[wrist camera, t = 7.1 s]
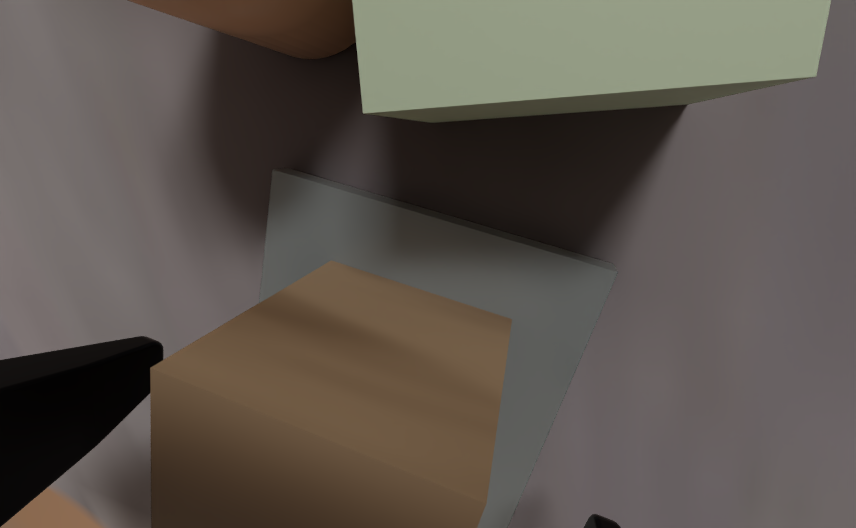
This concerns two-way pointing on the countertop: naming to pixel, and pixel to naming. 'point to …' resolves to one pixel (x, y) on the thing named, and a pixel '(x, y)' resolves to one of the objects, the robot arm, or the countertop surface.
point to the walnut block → (331, 411)
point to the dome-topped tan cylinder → (272, 22)
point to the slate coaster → (454, 295)
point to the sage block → (575, 54)
